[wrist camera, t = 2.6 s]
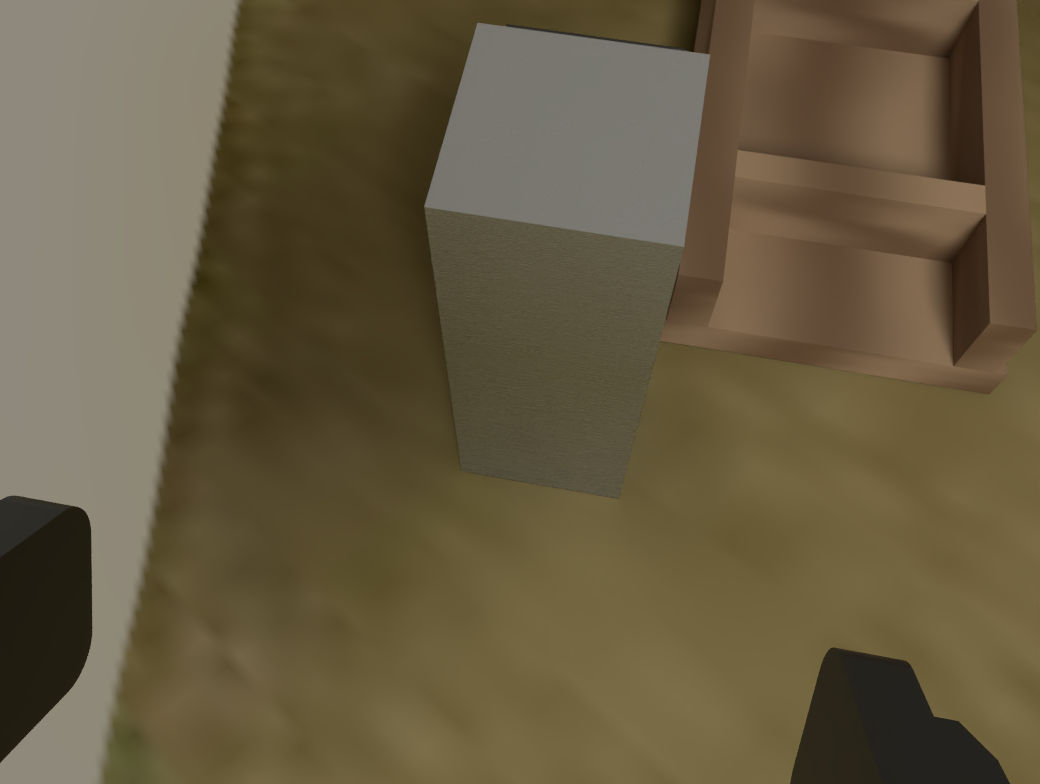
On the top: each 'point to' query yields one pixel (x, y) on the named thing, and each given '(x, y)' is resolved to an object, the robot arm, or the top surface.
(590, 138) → the finger blank
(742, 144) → the brown wooden slotted rack
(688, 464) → the top surface
